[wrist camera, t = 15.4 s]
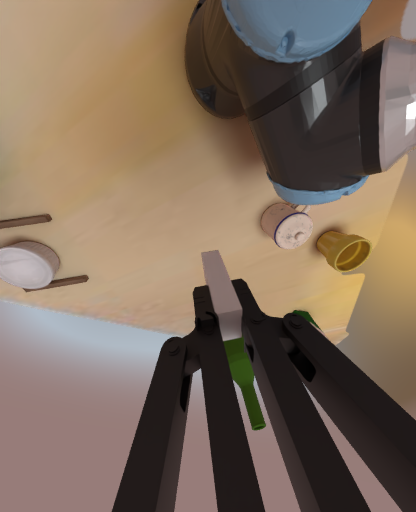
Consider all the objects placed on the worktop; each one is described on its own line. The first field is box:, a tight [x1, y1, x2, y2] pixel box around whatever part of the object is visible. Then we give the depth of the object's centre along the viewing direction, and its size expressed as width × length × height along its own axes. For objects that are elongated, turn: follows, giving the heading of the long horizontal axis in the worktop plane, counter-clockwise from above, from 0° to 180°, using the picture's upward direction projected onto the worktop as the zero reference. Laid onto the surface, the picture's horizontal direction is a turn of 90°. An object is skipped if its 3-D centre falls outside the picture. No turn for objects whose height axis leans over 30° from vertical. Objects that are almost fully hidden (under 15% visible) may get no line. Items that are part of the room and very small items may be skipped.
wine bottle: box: [223, 335, 266, 430], centre depth 50 cm, size 9×9×32 cm
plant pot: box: [317, 231, 372, 272], centre depth 50 cm, size 10×10×10 cm
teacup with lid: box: [261, 203, 313, 249], centre depth 42 cm, size 12×9×12 cm
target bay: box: [0, 214, 89, 292], centre depth 42 cm, size 18×15×2 cm
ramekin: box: [0, 241, 59, 289], centre depth 41 cm, size 11×11×5 cm
